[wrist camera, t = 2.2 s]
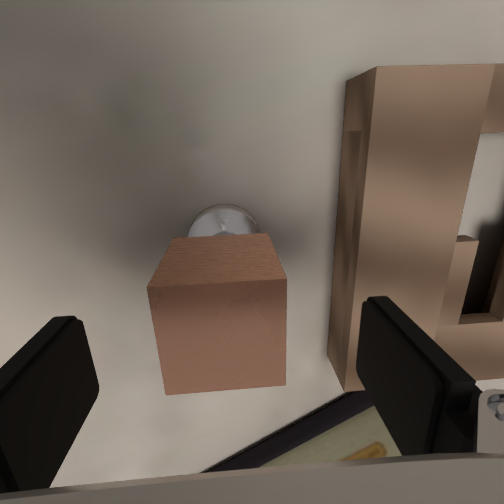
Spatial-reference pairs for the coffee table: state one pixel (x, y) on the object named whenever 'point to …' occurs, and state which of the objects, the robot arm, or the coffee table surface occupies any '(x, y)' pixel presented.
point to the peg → (220, 306)
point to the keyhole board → (415, 210)
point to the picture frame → (324, 438)
